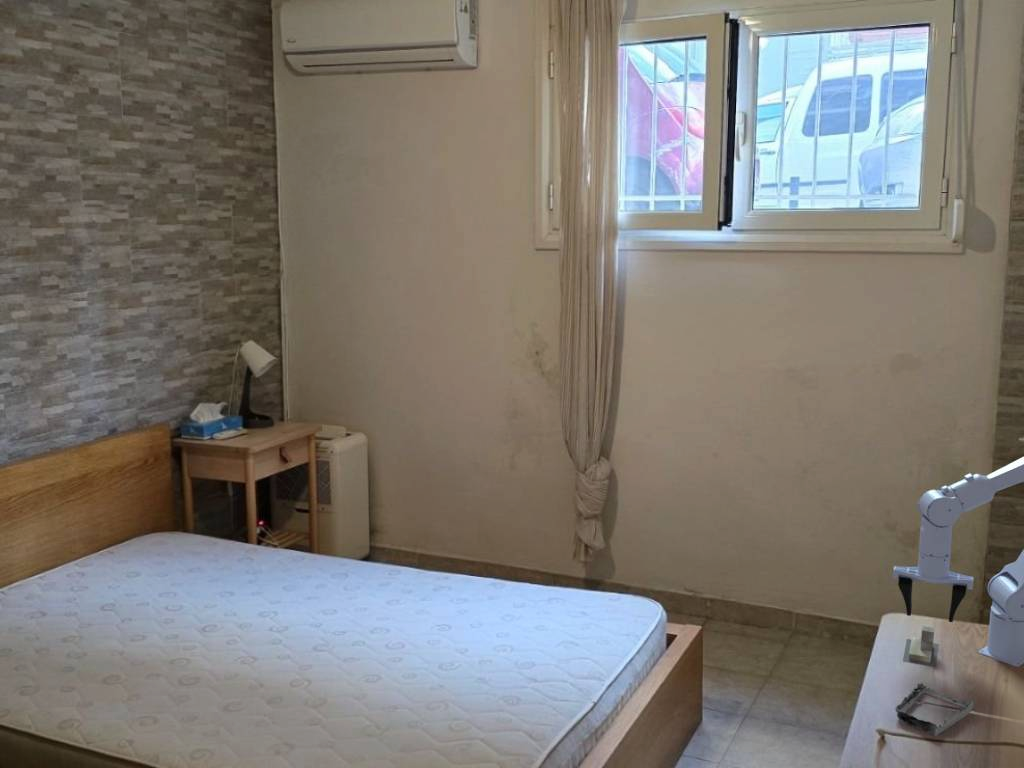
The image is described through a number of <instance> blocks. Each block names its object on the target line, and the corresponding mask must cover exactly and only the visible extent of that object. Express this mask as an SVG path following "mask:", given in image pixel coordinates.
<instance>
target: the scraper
mask: <svg viewBox="0 0 1024 768" xmlns="http://www.w3.org/2000/svg"><path fill="white" fill-rule="evenodd" d="M934 639H935V627H931V626H925V625H922V627H921V637H916V636H915V637H914V636H912V637H911V645H910V651H909V660H915V661H921V662H926V663H930V662H931V655H932V650H933V643H934Z"/></svg>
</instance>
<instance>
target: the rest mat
mask: <svg viewBox="0 0 1024 768" xmlns="http://www.w3.org/2000/svg"><path fill="white" fill-rule="evenodd" d="M911 640H912V638H911V639H910V638H907V639H906V642H905V643H906V644H905V648H904V654H903V658H902V662H906V663H910V664H916V665H923V666H928V667H933V668H937V658H938V651H939V644H938V643H934V642H933V650H932V655H931V662H930V663H926V662H921V661H915V660H909V651H910V645H911Z"/></svg>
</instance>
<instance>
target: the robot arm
mask: <svg viewBox="0 0 1024 768" xmlns="http://www.w3.org/2000/svg"><path fill="white" fill-rule="evenodd" d="M1023 482H1024V456H1022V457H1021V458H1018V459H1016V460H1015V461H1012V462H1011V463H1008V464H1007V465H1005V466H1003V467H1001V468H999V469H997V470H995V471H993V472H991V473H989V474H986V475H983V474H980V473H974V474H972V473H968V474H965V475H964V476H963V479H961V480H959V481H957V482H955V483H952V484H950V485H944V486H942V487H940V489H930V490H928V491H926V492H925V493H923V494H922V496H921V497H920V498H919V501H917V509H918V511H919V513H920V514H921V519H920V520H921V522H920V523H921V524H920V533H919V544H918V546H919V547H918V558H917V559H918V560H917V566H897V565H894V566H893V571H892V579H893V580H898V582H897V583H898V584H897V585H898V589H899V590H900V593H901V594H902V597H903V600H904V604H905V608H906V616H908V617H909V616H911V614H912V610H913V609H912V607H913V605H912V601H913V599H912V594H913V582H914V581H917V582H924V583H932V584H938V585H939V584H940V585H945V586H952V590H951V601H950V608H949V614H948V622H949V623H953V621H954V617H955V614H956V611H957V609H958V607H959V606H960V604H961V602H962V601H963V599H964V598H965V596H966V594H967V590H970V591H971V590H973V589H974V576H969V575H964V574H962V573H961V574H960V573H958V572H957V573H956V572H954V571H950V567H951V566H950V564H951V552H952V551H951V550H952V540H953V539H952V537H953V525H954V524H955V523H956V522H957V521H958V519H959V517H960V516H961V515H962V514H964V513H967V512H969V511H971V510H974V509H977V508H978V507H980V506H982V505H984V504H987V503H989V502H991V501H993V499H994V497H995V494H996V493H997V492H999V491H1001V490H1004V489H1008V488H1009V487H1011V486H1012V487H1013V486H1015V485H1017V484H1020V483H1023ZM987 593H988V596H989V597H990V598H991V599H992V605H991V607H990V613H989V614H990V615H989V625H988V634H987V635H988V636H987V643H986V644H987V645H986V646H984V647H983V648H981V649H980V650H978V651H977V652H978V654H980V655H983V656H985V657H988V658H991V659H994V660H997V661H1000V662H1003V663H1006V664H1007V665H1011V666H1014V667H1016V668H1018V667H1021V666H1022V665H1023V664H1024V549H1022V551H1021V553H1020V555H1018V558H1017V559H1016V561H1014V562H1011V563H1008V564H1005V565H1004V566H1003V568H1002V569H1001V571H1000V572H999V573H997V574H995V575H993V576H992V577H991V579H990V580H989V581H988V584H987Z"/></svg>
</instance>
